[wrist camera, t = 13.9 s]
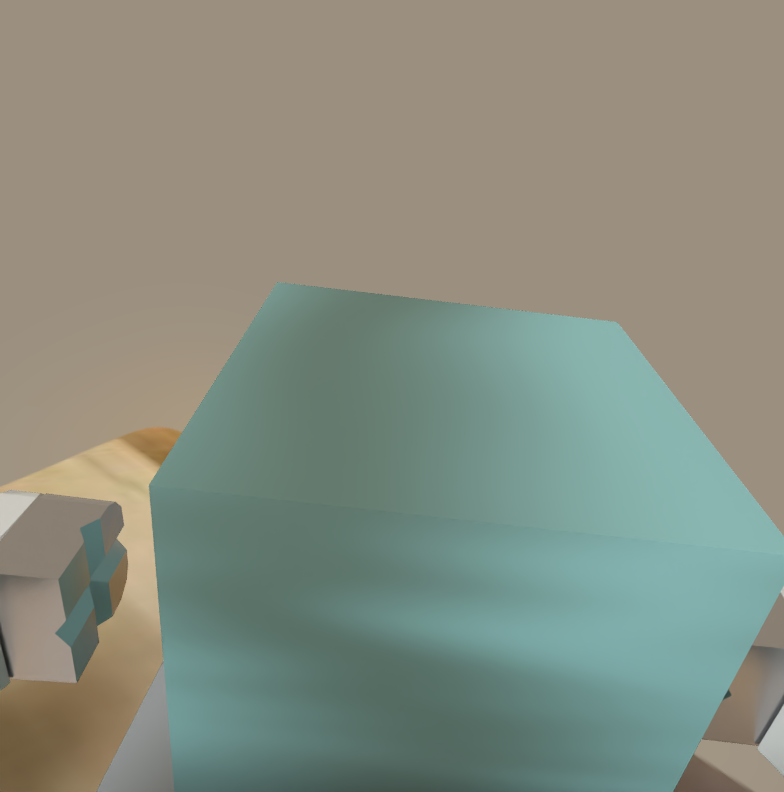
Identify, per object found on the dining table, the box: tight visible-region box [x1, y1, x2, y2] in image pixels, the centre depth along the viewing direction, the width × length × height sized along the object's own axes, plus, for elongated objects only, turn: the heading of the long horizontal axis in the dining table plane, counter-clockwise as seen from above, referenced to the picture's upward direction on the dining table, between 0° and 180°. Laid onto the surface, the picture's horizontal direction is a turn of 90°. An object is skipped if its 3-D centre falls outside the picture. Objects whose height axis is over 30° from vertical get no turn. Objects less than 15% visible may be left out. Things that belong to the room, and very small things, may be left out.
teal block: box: [149, 282, 784, 792], centre depth 10 cm, size 5×5×12 cm
